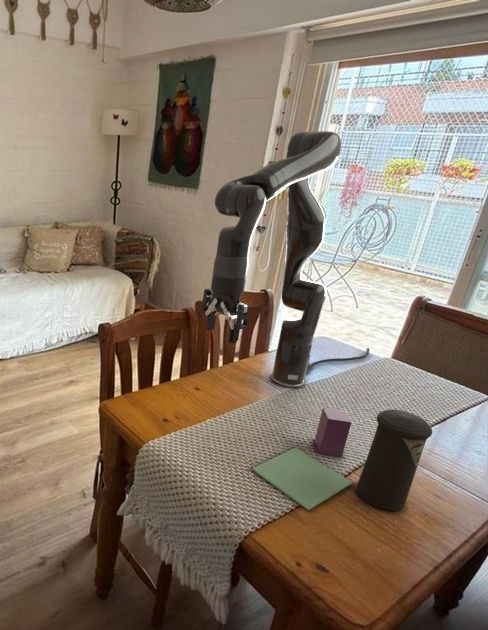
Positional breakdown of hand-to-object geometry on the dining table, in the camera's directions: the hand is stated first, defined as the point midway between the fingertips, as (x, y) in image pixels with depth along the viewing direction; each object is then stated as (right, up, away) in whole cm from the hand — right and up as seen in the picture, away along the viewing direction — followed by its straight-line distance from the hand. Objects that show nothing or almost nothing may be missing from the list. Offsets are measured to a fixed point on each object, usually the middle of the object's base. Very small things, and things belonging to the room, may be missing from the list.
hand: (220, 335), depth 109 cm
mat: (+15, -32, -9) cm, 36 cm away
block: (+27, -28, 0) cm, 39 cm away
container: (+29, -34, -15) cm, 47 cm away
